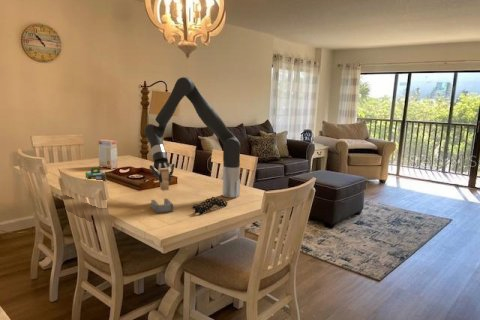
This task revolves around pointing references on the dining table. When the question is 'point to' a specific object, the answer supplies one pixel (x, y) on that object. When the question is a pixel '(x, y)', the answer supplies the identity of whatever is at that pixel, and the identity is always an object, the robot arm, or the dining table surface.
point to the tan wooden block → (164, 179)
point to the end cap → (162, 206)
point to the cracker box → (108, 153)
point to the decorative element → (209, 205)
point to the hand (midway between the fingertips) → (165, 181)
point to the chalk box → (96, 174)
